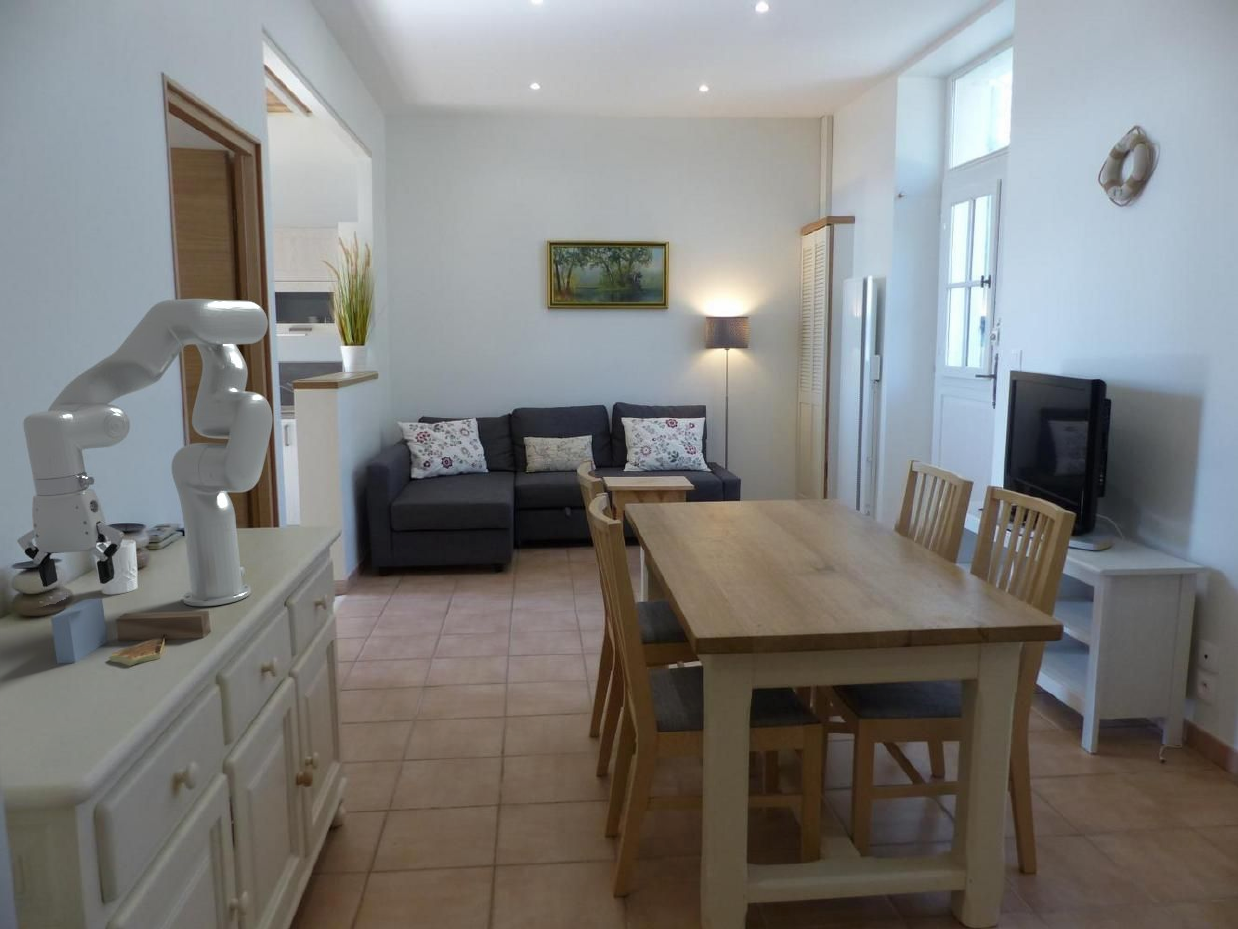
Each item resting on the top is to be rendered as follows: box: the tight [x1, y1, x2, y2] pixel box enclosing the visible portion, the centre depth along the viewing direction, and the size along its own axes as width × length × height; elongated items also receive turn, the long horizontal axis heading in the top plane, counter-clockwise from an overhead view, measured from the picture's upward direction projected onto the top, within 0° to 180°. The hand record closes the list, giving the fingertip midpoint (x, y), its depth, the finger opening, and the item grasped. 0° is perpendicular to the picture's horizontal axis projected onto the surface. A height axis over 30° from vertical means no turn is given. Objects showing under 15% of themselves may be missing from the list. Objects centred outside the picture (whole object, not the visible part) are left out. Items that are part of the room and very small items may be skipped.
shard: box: [108, 634, 166, 667], centre depth 155 cm, size 11×8×2 cm
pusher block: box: [50, 597, 108, 664], centre depth 156 cm, size 3×10×8 cm, turn 1°
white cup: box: [93, 539, 139, 595], centre depth 193 cm, size 8×8×10 cm
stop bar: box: [115, 610, 212, 642], centre depth 163 cm, size 3×15×4 cm, turn 91°
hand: (79, 582), depth 156 cm, fingers open, 9 cm apart
